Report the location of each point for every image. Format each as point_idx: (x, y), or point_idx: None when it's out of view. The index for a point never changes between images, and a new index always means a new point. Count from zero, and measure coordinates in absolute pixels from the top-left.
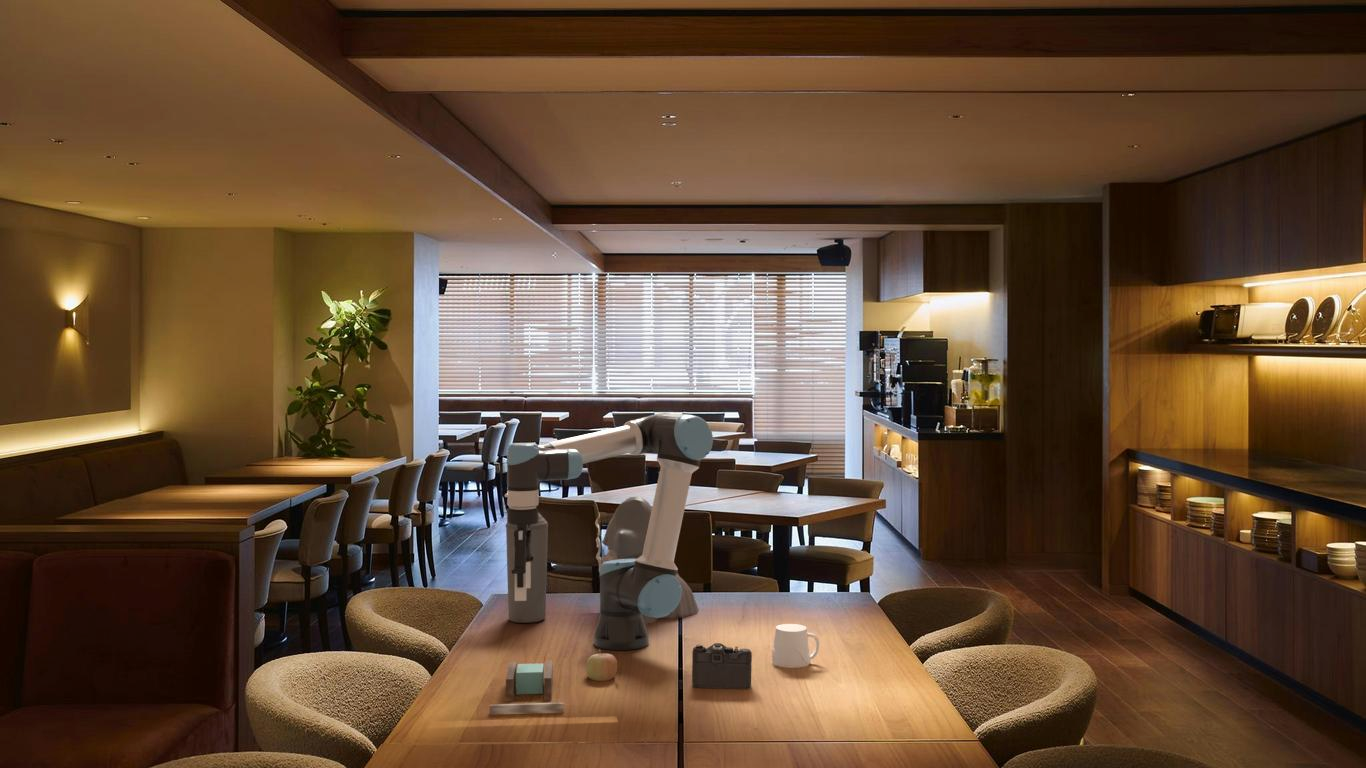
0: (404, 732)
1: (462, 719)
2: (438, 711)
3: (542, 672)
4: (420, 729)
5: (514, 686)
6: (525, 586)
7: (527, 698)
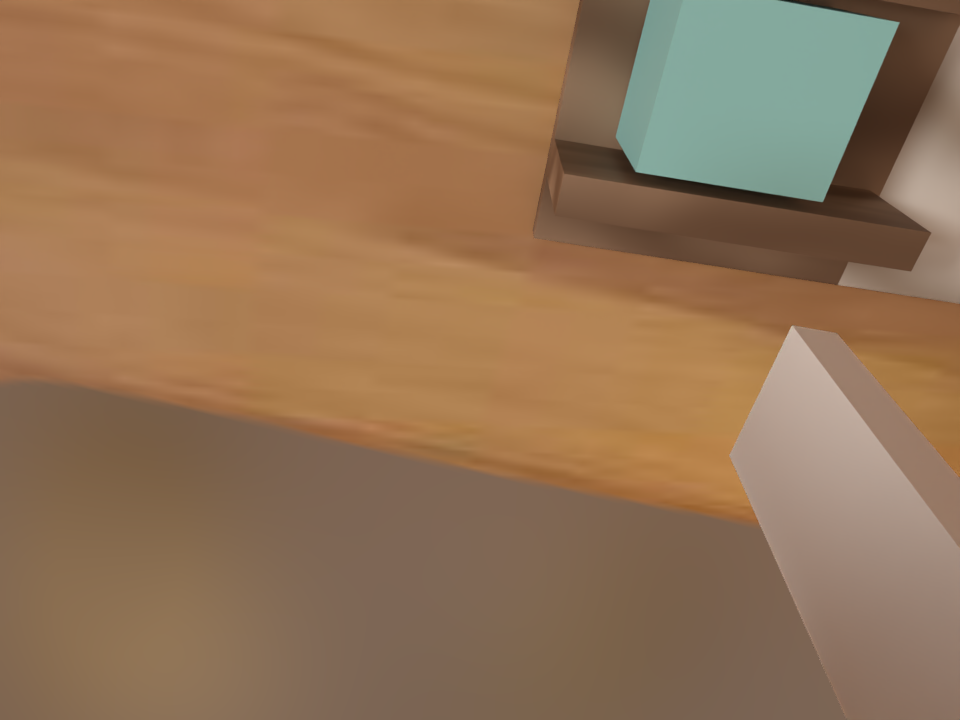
0: None
1: (922, 397)
2: None
3: (897, 23)
4: None
5: None
6: (949, 484)
7: None
